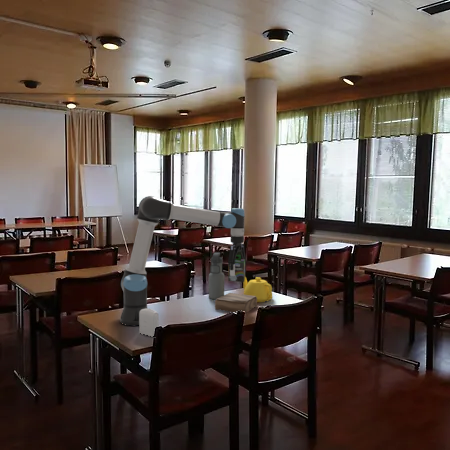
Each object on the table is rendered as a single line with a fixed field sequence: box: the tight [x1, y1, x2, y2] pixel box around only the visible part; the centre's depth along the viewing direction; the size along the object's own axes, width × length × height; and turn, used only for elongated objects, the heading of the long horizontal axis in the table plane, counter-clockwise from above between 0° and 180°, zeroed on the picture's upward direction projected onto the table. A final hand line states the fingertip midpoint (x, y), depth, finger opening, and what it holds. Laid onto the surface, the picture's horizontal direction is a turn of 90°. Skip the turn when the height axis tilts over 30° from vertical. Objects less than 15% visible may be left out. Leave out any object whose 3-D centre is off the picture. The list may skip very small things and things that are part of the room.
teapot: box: [242, 276, 274, 303], centre depth 284 cm, size 25×18×14 cm
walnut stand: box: [214, 292, 258, 313], centre depth 263 cm, size 18×18×6 cm
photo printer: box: [138, 307, 160, 338], centre depth 214 cm, size 10×4×12 cm, turn 54°
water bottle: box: [208, 252, 225, 300], centre depth 285 cm, size 10×10×28 cm
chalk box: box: [227, 254, 246, 283], centre depth 261 cm, size 9×9×15 cm
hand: (236, 274), depth 262 cm, fingers closed on chalk box, 11 cm apart
